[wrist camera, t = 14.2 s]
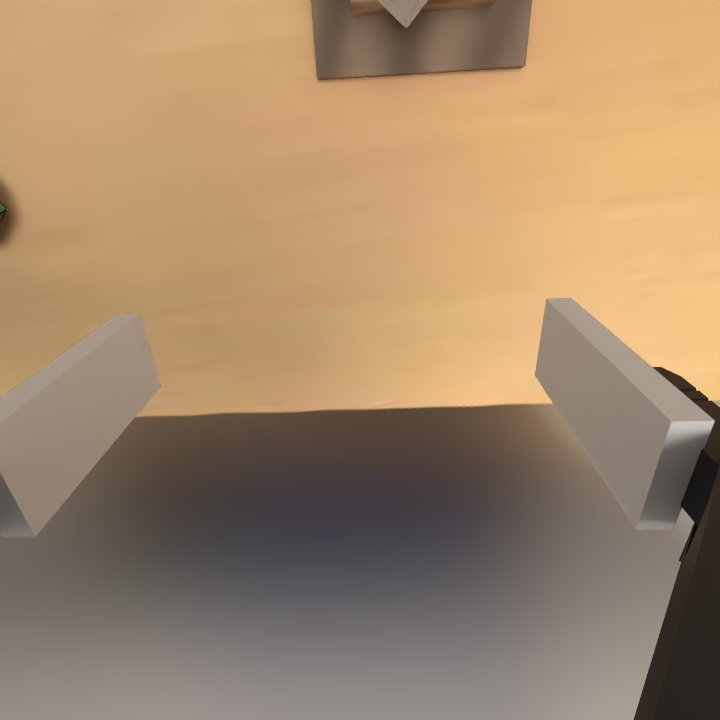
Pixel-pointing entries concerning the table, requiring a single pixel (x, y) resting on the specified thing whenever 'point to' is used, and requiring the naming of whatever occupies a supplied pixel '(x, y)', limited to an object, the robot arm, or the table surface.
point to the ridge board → (419, 37)
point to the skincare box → (404, 9)
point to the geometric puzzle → (2, 209)
